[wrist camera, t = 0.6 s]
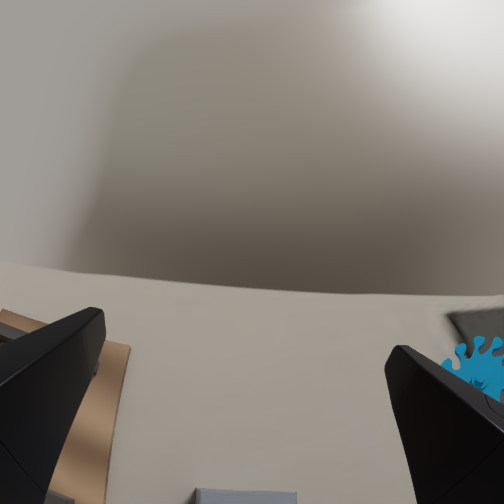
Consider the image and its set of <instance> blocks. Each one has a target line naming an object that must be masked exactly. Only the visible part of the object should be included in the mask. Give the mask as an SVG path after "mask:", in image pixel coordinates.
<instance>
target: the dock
mask: <svg viewBox="0 0 504 504" xmlns="http://www.w3.org/2000/svg"><path fill="white" fill-rule="evenodd" d="M46 325H49V324H46V323H43V322H40V321H37V320H34V319H31V318H28V317H25V316H22V315H19V314H16V313H13V312H11V311H8V310H5V309H2V310H1V312H0V346H1V345H3V344H5V343H7V342H9V341H12V340H14V339H16V338H19V337H21V336H23V335H25V334H28V333H30V332H32V331H35V330H37V329H39V328H42V327H44V326H46ZM130 351H131V348H130V346H129V345H125V344H120V343H116V342H112V341H107V340H105V342H104V344H103V347H102V350H101V353H100V356H99V359H98V362H97V365H96V368H95V371H94V374H93V377H92V380H91V382H90V384H89V387H88V389H87V391H86V393H85V396H84V398H83V400H82V402H81V405H80V407H79V409H78V412H77V414H76V416H75V419H74V421H73V424H72V426H71V428H70V431H69V433H68V436H67V438H66V441H65V443H64V446H63V449H62V451H61V454H60V457H59V459H58V462H57V465H56V468H55V470H54V473H53V476H52V479H51V482H50V485H49V488H48V491H47V494H45V495H46V498H45V501H44V504H105V502H106V490H107V481H108V472H109V464H110V456H111V449H112V442H113V436H114V430H115V424H116V418H117V412H118V407H119V402H120V396H121V391H122V387H123V382H124V377H125V372H126V368H127V363H128V359H129V355H130Z"/></svg>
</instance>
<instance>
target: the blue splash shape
mask: <svg viewBox="0 0 504 504" xmlns="http://www.w3.org/2000/svg"><path fill="white" fill-rule="evenodd" d="M484 341H485V338H484V337H481V336H476V337H475V338H474V343H473V344H474V353H473V355H472V357H471V358H470V359H465V358H464V355H465V353H466V345H465V344H460V345H458V346H456V347H455V354H456V355H457V356H458V358H459V359H460V362H461V368H460V369H459V370H453V369H452V361H451V360H450V359H449V358H447V359H446V360H445V361H444V362H443V363H442V364H441V366H442V367H443V368H445V369H446V370H448V371H450V372H451V373H453V374H455V375H456V376H458V377H459V378H461V379H463V380H464V381H466V382H468V383H469V384H471V385H472V386H474V387H476V388H477V389H479V390H481V391H482V392H483V393H485V394H487V395H489V396H490V397H492V398H494V399H495V400H497V401H499V402H500V392H502V391H504V367H503V366H502V362H503V361H504V355H502V356H499V357H493V356H492V352H494V351H499V350H500V349H501V348H502V345H503V341H502V340H501V339H500V338H498V337H495V338H494V340H493V343H492V346H491V347H490V349H489V350H488V351H487V352H485V353H484V354H479V353H478V350H479V349H481V348H482V347H483V345H484Z"/></svg>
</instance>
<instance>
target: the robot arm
mask: <svg viewBox="0 0 504 504" xmlns="http://www.w3.org/2000/svg"><path fill="white" fill-rule="evenodd" d="M105 338H106V327H105V317H104V312H103V310H102V309H99V308H95V307H88V308H86V309H84V310H81V311H79V312H76V313H74V314H72V315H69V316H67V317H65V318H62V319H60V320H58V321H55V322H53V323H51V324H49V325H46V326H44V327H42V328H39V329H37V330H35V331H32V332H30V333H28V334H25V335H23V336H21V337H19V338H16V339H14V340H12V341H9V342H7V343H5V344H3V345H1V346H0V504H44V501H45V498H46V495H45V494H47V491H48V488H49V485H50V482H51V479H52V476H53V473H54V470H55V468H56V465H57V462H58V459H59V457H60V454H61V451H62V449H63V446H64V443H65V441H66V438H67V436H68V433H69V431H70V428H71V426H72V424H73V421H74V419H75V416H76V414H77V412H78V409H79V407H80V405H81V402H82V400H83V398H84V396H85V393H86V391H87V389H88V387H89V384H90V382H91V380H92V377H93V374H94V371H95V368H96V365H97V362H98V359H99V356H100V353H101V350H102V347H103V344H104V342H105ZM384 370H385V376H386V380H387V385H388V390H389V395H390V400H391V404H392V409H393V412H394V416H395V419H396V423H397V426H398V429H399V433H400V436H401V440H402V444H403V447H404V451H405V455H406V459H407V462H408V466H409V470H410V474H411V479H412V483H413V487H414V492H415V496H416V501H417V504H504V404H502V403H500V402H499V401H497V400H495V399H494V398H492V397H490V396H489V395H487V394H485V393H483V392H482V391H481V390H479V389H477V388H476V387H474V386H472V385H471V384H469V383H468V382H466V381H464V380H463V379H461V378H459V377H458V376H456V375H455V374H453V373H451V372H450V371H448V370H446V369H445V368H443V367H442V366H440V365H438V364H437V363H435V362H433V361H432V360H430V359H429V358H427V357H425V356H424V355H422V354H420V353H419V352H417V351H416V350H414V349H412V348H411V347H409V346H407V345H396V346H395V347H394V348H393V350H392V352H391V354H390V356H389V358H388V360H387V362H386V364H385V368H384Z"/></svg>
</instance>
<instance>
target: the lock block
mask: <svg viewBox="0 0 504 504" xmlns="http://www.w3.org/2000/svg"><path fill="white" fill-rule="evenodd" d="M195 504H297V492H279V491H234V490H216V489H204V488H196V501H195Z"/></svg>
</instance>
